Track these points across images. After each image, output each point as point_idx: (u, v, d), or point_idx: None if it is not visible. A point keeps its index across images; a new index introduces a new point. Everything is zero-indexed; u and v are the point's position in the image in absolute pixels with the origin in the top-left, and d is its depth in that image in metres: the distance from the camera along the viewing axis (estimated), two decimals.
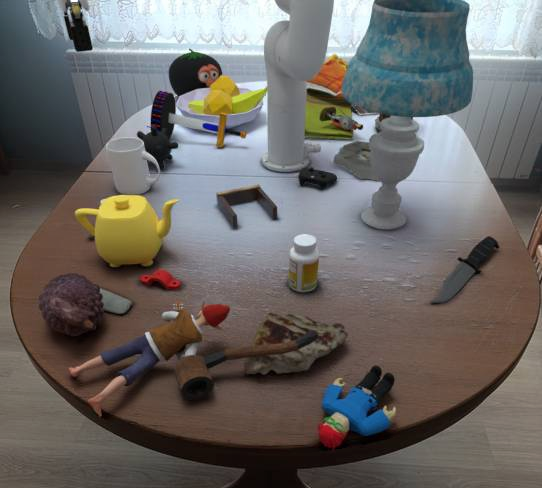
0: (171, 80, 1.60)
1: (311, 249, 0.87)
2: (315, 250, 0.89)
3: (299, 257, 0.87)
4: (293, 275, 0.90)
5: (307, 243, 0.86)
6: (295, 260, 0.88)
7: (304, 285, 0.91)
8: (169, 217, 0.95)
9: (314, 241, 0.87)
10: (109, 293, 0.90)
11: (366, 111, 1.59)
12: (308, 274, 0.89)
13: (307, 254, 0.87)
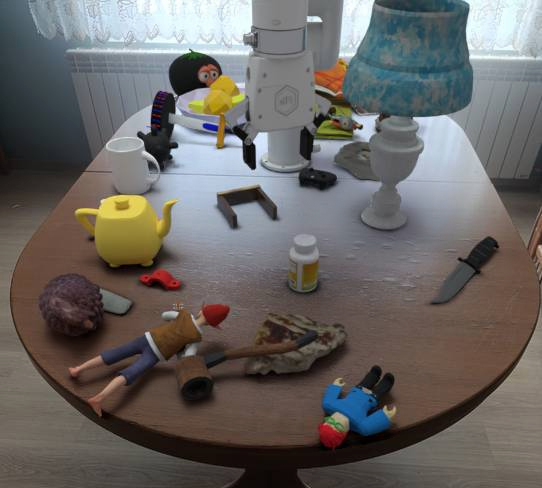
0: (171, 80, 1.60)
1: (311, 249, 0.87)
2: (315, 250, 0.89)
3: (299, 257, 0.87)
4: (293, 275, 0.90)
5: (307, 243, 0.86)
6: (295, 260, 0.88)
7: (304, 285, 0.91)
8: (169, 217, 0.95)
9: (314, 241, 0.87)
10: (109, 293, 0.90)
11: (366, 111, 1.59)
12: (308, 274, 0.89)
13: (307, 254, 0.87)
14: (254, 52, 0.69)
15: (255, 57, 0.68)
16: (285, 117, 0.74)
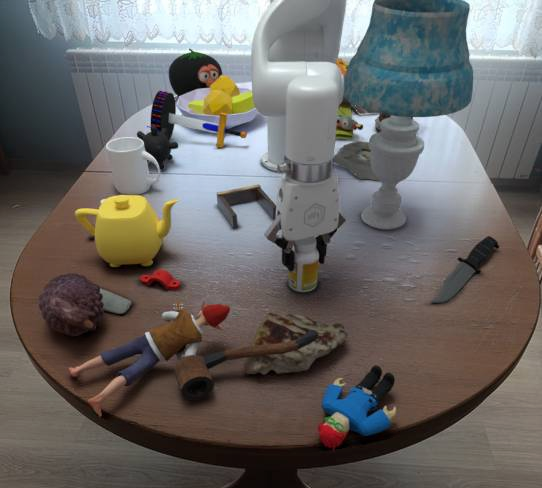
0: (171, 80, 1.60)
1: (311, 249, 0.87)
2: (315, 250, 0.89)
3: (299, 257, 0.87)
4: (293, 275, 0.90)
5: (307, 243, 0.86)
6: (296, 260, 0.88)
7: (304, 285, 0.91)
8: (169, 217, 0.95)
9: (314, 241, 0.87)
10: (109, 293, 0.90)
11: (366, 111, 1.59)
12: (308, 274, 0.89)
13: (307, 254, 0.87)
14: (286, 177, 0.78)
15: (288, 183, 0.77)
16: (312, 228, 0.83)
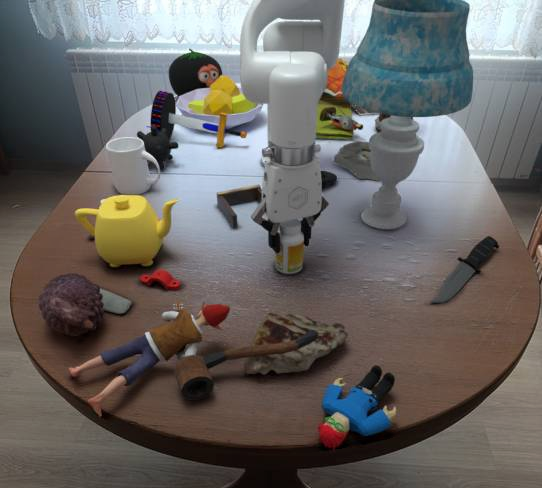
0: (171, 80, 1.60)
1: (296, 231, 0.91)
2: (300, 233, 0.93)
3: (285, 239, 0.91)
4: (279, 257, 0.94)
5: (292, 226, 0.90)
6: (281, 242, 0.92)
7: (290, 266, 0.95)
8: (169, 217, 0.95)
9: (299, 224, 0.91)
10: (109, 293, 0.90)
11: (366, 111, 1.59)
12: (293, 256, 0.94)
13: (292, 236, 0.91)
14: (271, 161, 0.82)
15: (272, 166, 0.81)
16: (296, 210, 0.87)
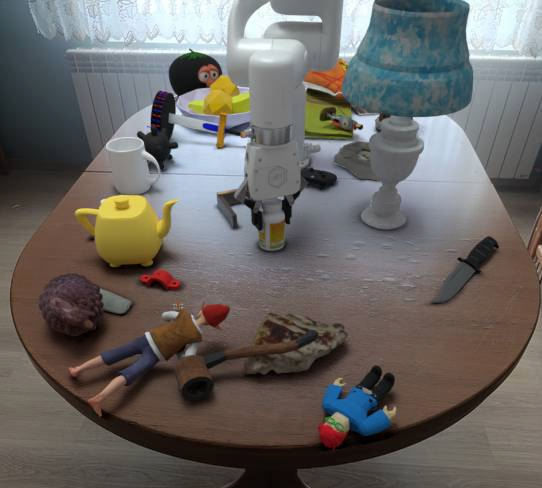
0: (171, 80, 1.60)
1: (277, 210, 0.97)
2: (281, 211, 0.98)
3: (266, 217, 0.97)
4: (262, 234, 1.00)
5: (273, 204, 0.96)
6: (263, 220, 0.98)
7: (272, 243, 1.01)
8: (169, 217, 0.95)
9: (280, 202, 0.97)
10: (109, 293, 0.90)
11: (366, 111, 1.59)
12: (275, 233, 0.99)
13: (273, 214, 0.97)
14: (252, 142, 0.88)
15: (252, 146, 0.87)
16: (277, 189, 0.93)
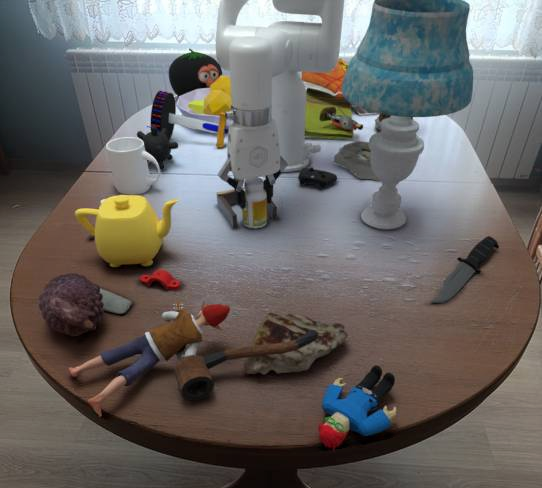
0: (171, 80, 1.60)
1: (259, 188, 1.03)
2: (263, 190, 1.05)
3: (249, 195, 1.04)
4: (245, 212, 1.06)
5: (255, 183, 1.02)
6: (246, 199, 1.04)
7: (255, 221, 1.07)
8: (169, 217, 0.95)
9: (261, 182, 1.03)
10: (109, 293, 0.90)
11: (366, 111, 1.59)
12: (257, 212, 1.06)
13: (255, 193, 1.04)
14: (233, 123, 0.94)
15: (234, 127, 0.93)
16: (258, 168, 0.99)
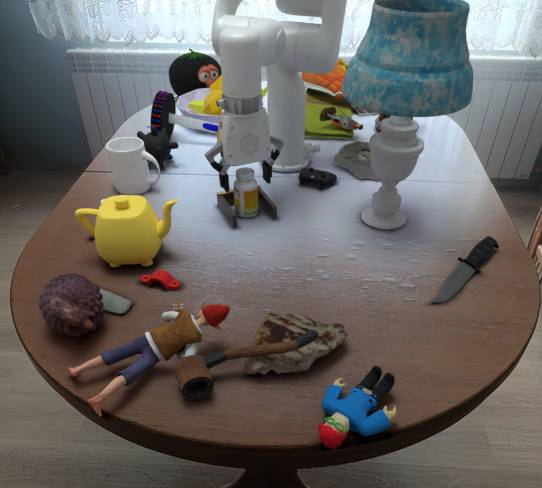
0: (171, 80, 1.60)
1: (250, 178, 1.06)
2: (254, 180, 1.08)
3: (240, 185, 1.07)
4: (237, 202, 1.10)
5: (246, 173, 1.06)
6: (237, 188, 1.07)
7: (246, 210, 1.10)
8: (169, 217, 0.95)
9: (252, 172, 1.06)
10: (109, 293, 0.90)
11: (366, 111, 1.59)
12: (249, 201, 1.09)
13: (246, 183, 1.07)
14: (224, 111, 0.97)
15: (225, 115, 0.96)
16: (249, 155, 1.02)
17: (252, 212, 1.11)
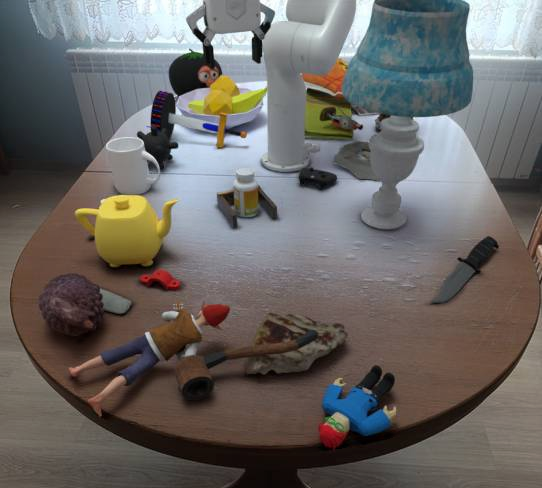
0: (171, 80, 1.60)
1: (250, 178, 1.06)
2: (254, 180, 1.08)
3: (240, 185, 1.07)
4: (237, 202, 1.10)
5: (246, 173, 1.06)
6: (237, 188, 1.07)
7: (246, 210, 1.10)
8: (169, 217, 0.95)
9: (252, 172, 1.06)
10: (109, 293, 0.90)
11: (366, 111, 1.59)
12: (249, 201, 1.09)
13: (246, 183, 1.07)
14: None
15: None
16: (236, 20, 0.91)
17: (252, 212, 1.11)
